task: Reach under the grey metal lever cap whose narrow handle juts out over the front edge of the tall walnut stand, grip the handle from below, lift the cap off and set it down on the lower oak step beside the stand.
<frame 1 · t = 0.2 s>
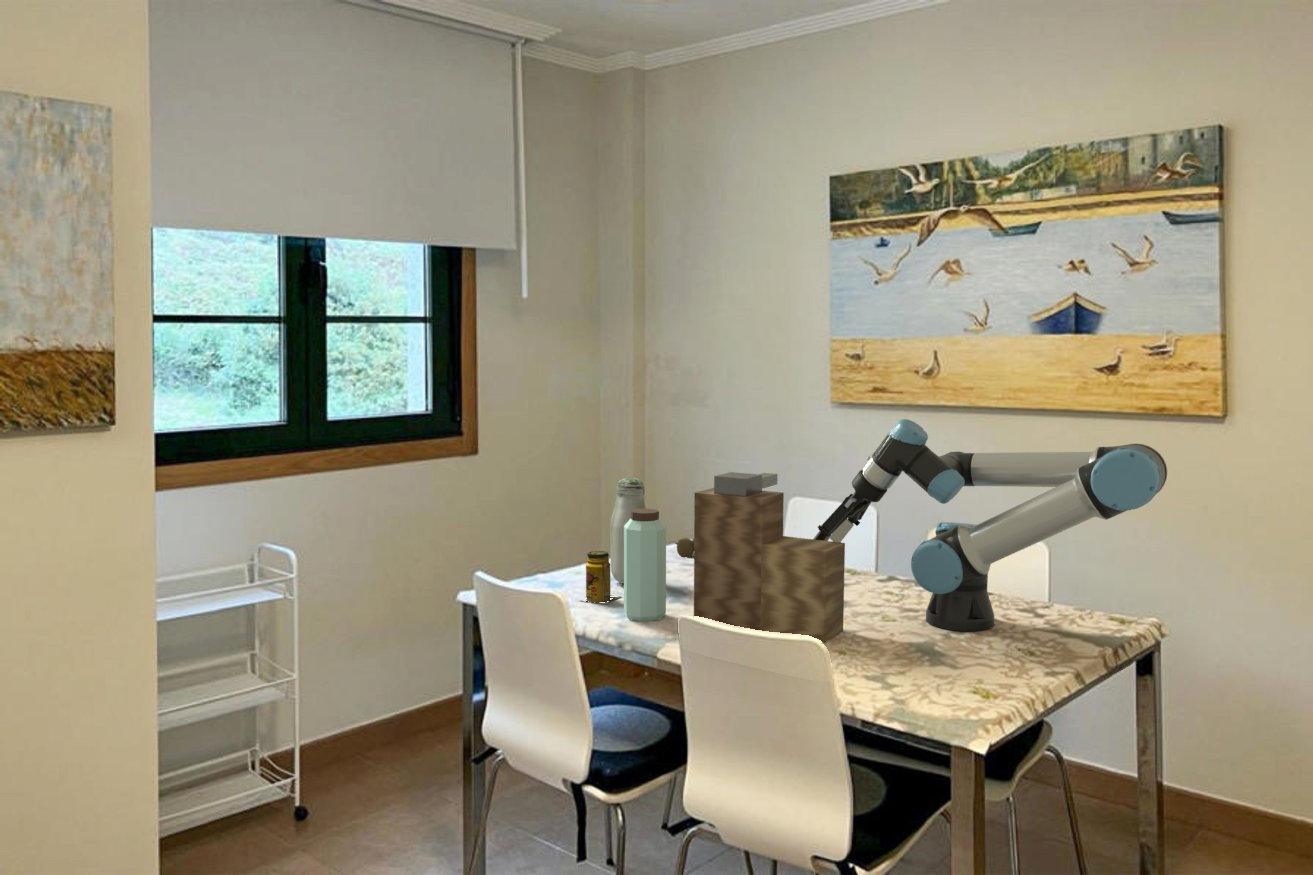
hand: (822, 547, 255), 16 cm above the table, tool tilted 35°, fingers open, 13 cm apart
water bottle: (644, 617, 256), on the table
stepped stand: (767, 626, 247), on the table
condiment: (600, 600, 272), on the table
kendama: (703, 557, 322), on the table
lever cap: (744, 491, 250), point 30 cm above the table, touching stepped stand
glass bottle: (629, 583, 289), on the table
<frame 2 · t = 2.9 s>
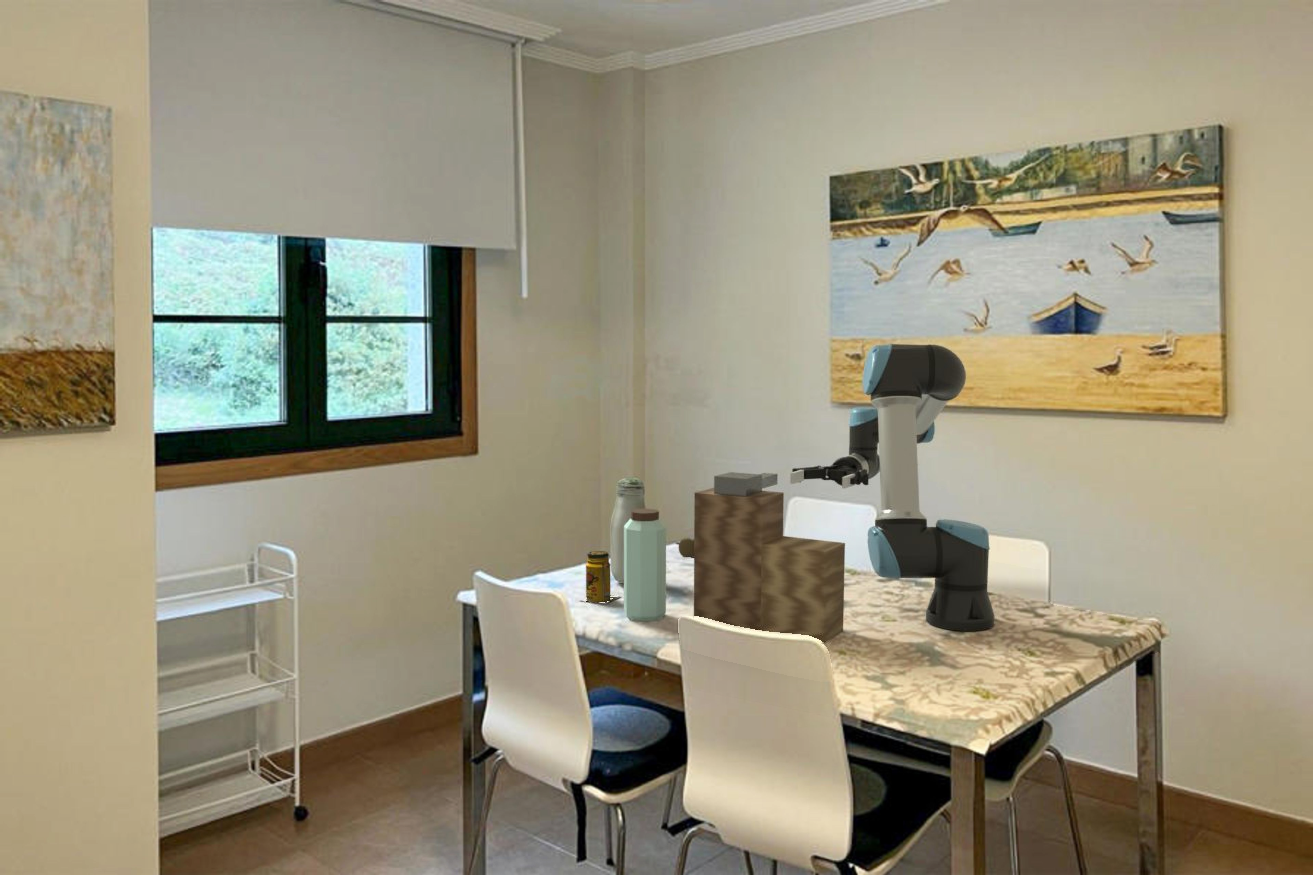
hand: (817, 480, 267), 30 cm above the table, tool horizontal, fingers open, 13 cm apart
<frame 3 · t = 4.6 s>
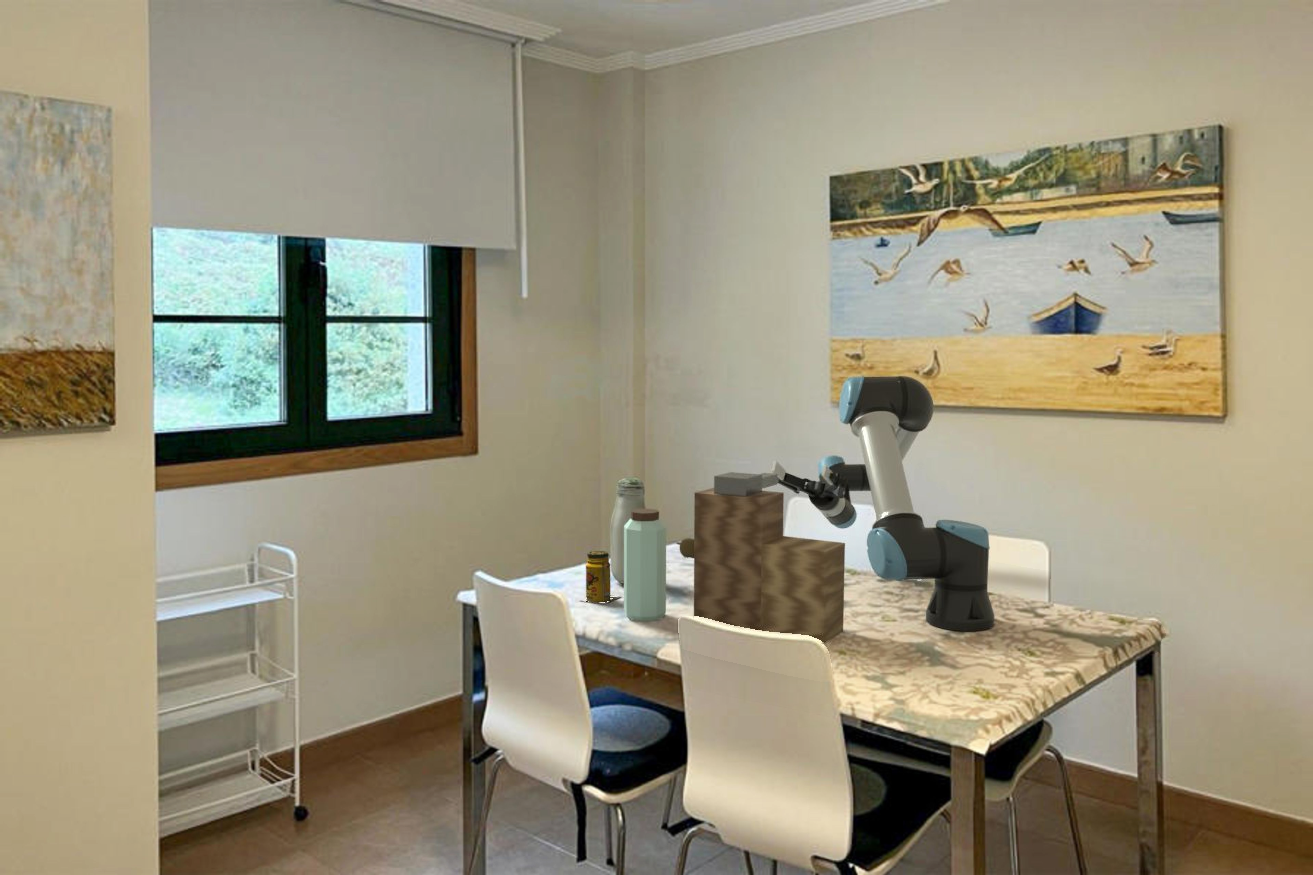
hand: (798, 467, 274), 32 cm above the table, tool pointing upward, fingers open, 13 cm apart
nothing on the table moved.
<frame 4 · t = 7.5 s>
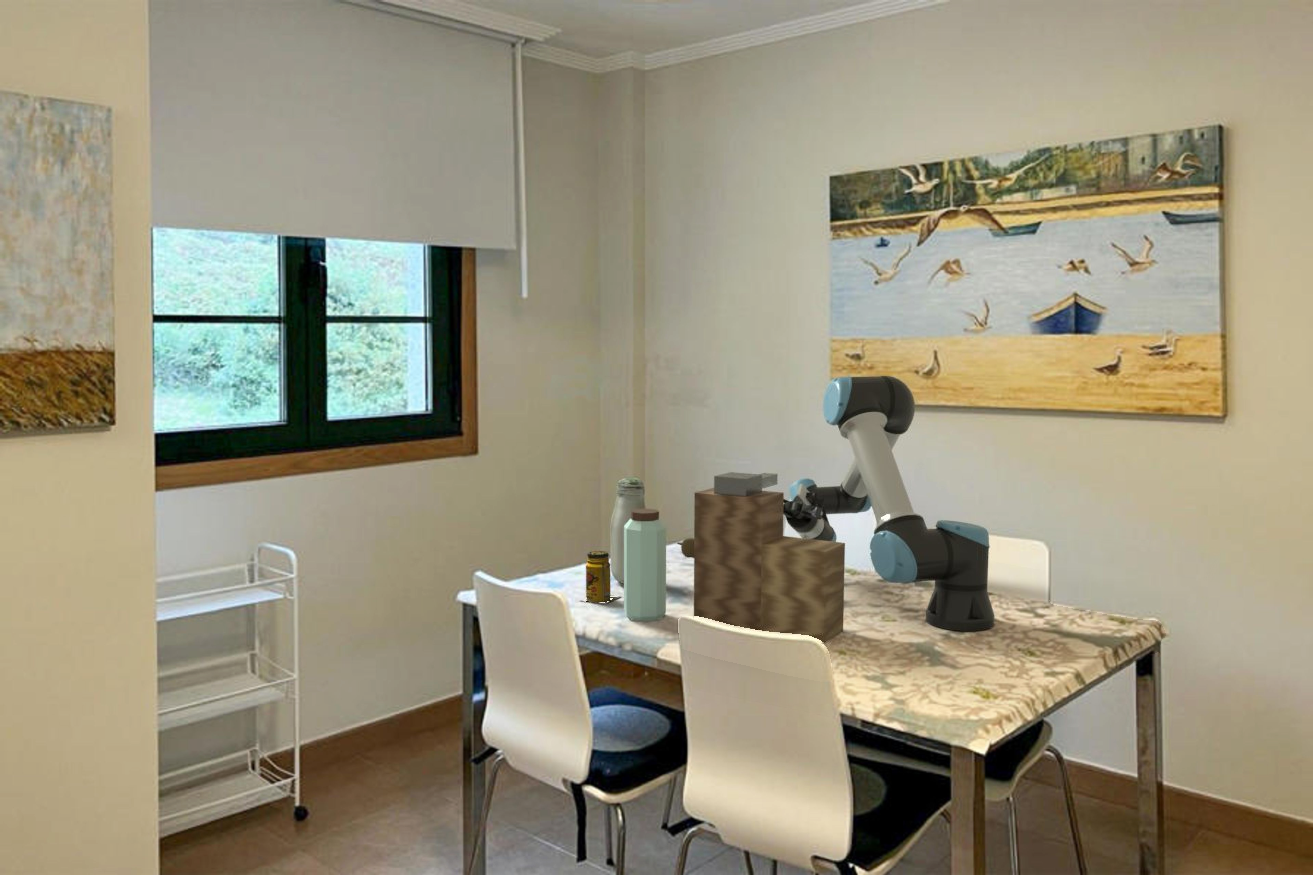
hand: (773, 486, 265), 29 cm above the table, tool pointing upward, fingers open, 13 cm apart
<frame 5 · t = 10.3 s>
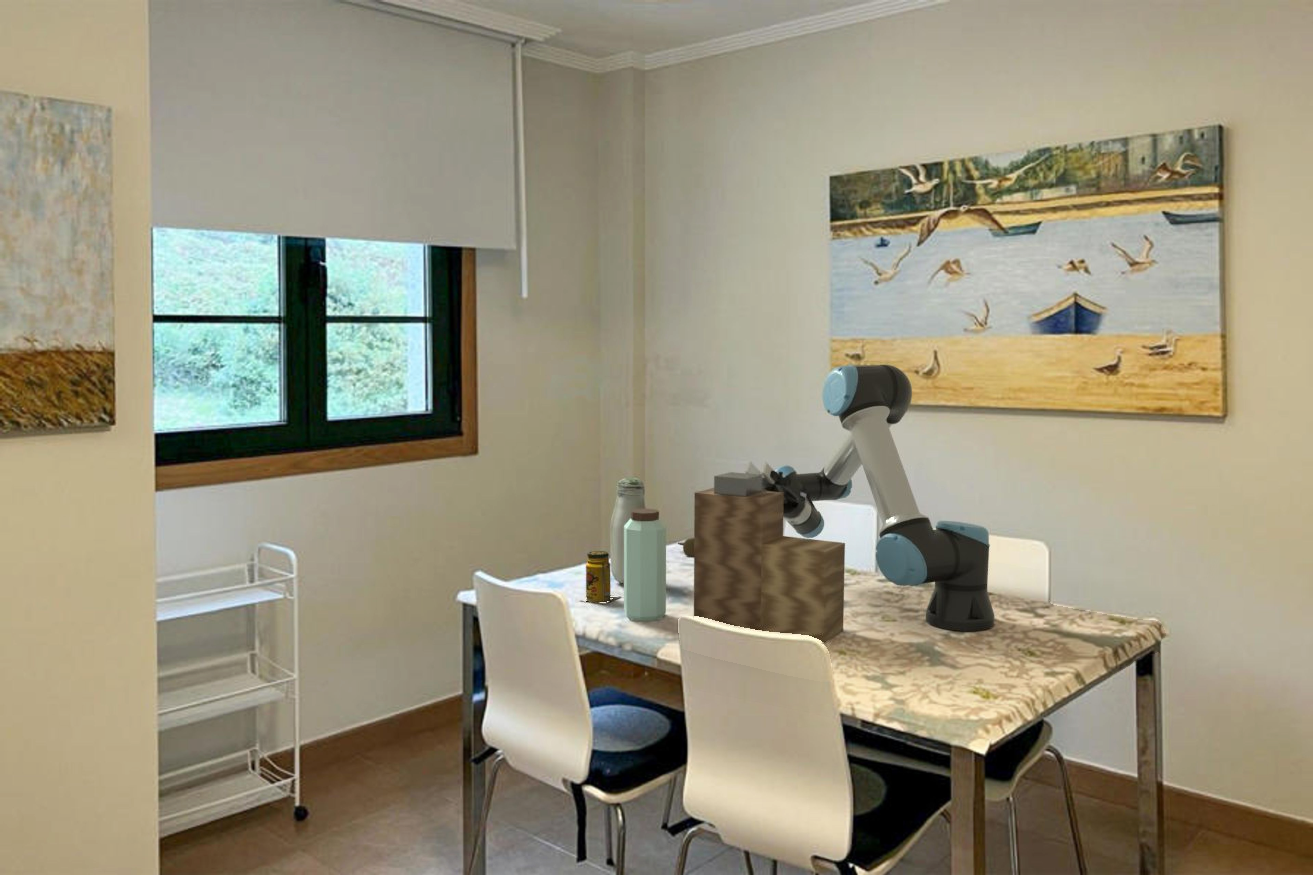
hand: (755, 466, 255), 35 cm above the table, tool pointing upward, fingers closed on lever cap, 3 cm apart
lever cap: (744, 491, 250), point 30 cm above the table, touching gripper, stepped stand
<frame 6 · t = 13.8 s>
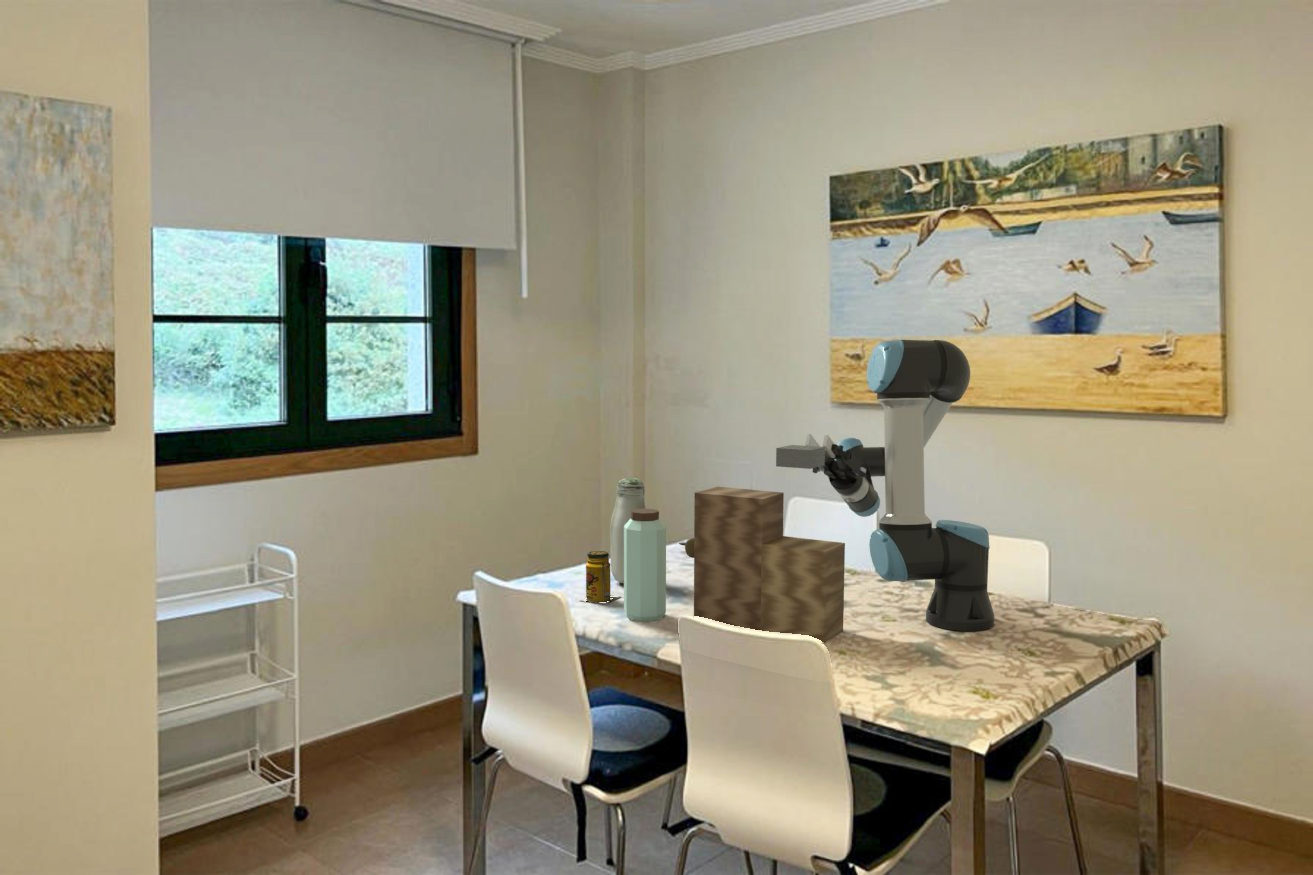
hand: (816, 439, 246), 42 cm above the table, tool pointing upward, fingers closed on lever cap, 3 cm apart
lever cap: (805, 464, 242), point 37 cm above the table, touching gripper
when the fingers open (26 cm above the table, at t = 17.3 s): lever cap drops 1 cm, resting on stepped stand.
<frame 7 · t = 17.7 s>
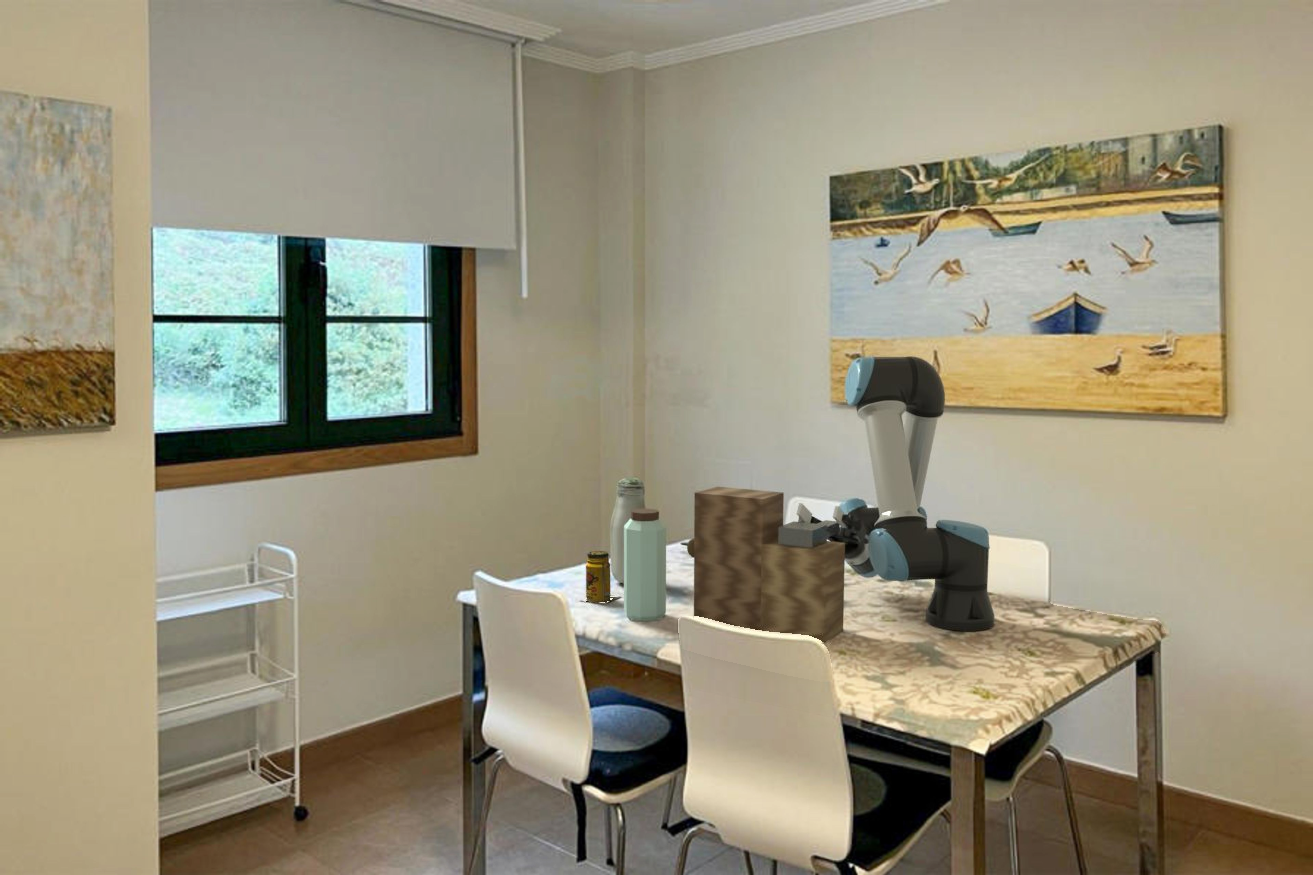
hand: (817, 510, 248), 26 cm above the table, tool pointing upward, fingers open, 8 cm apart
lever cap: (808, 541, 243), point 20 cm above the table, touching stepped stand
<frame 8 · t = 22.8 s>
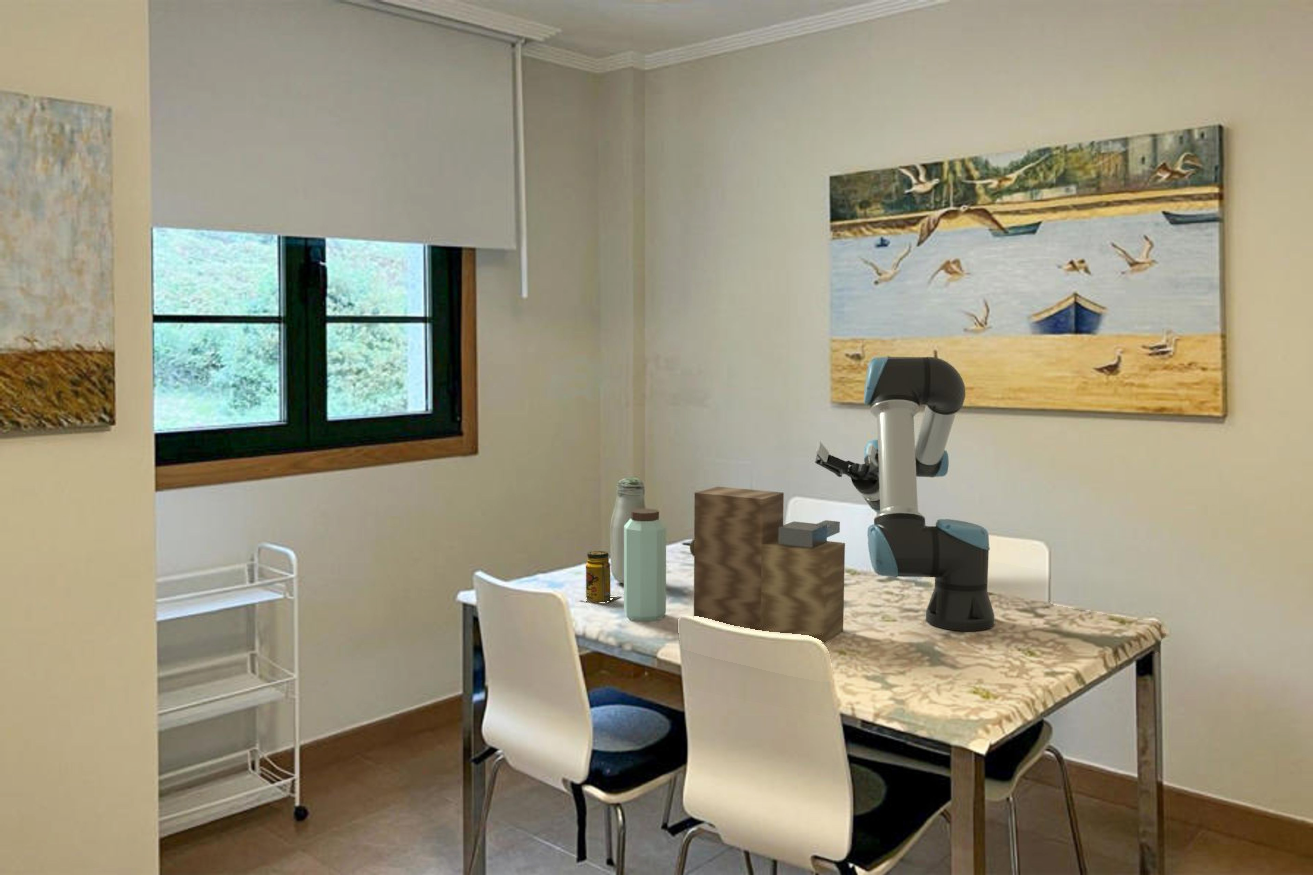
hand: (843, 448, 270), 38 cm above the table, tool pointing upward, fingers open, 13 cm apart
at the end: lever cap inside the target area (0.1 cm from its centre), point 20.0 cm above the table; lever cap tilted 0°; the gripper is holding nothing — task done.
